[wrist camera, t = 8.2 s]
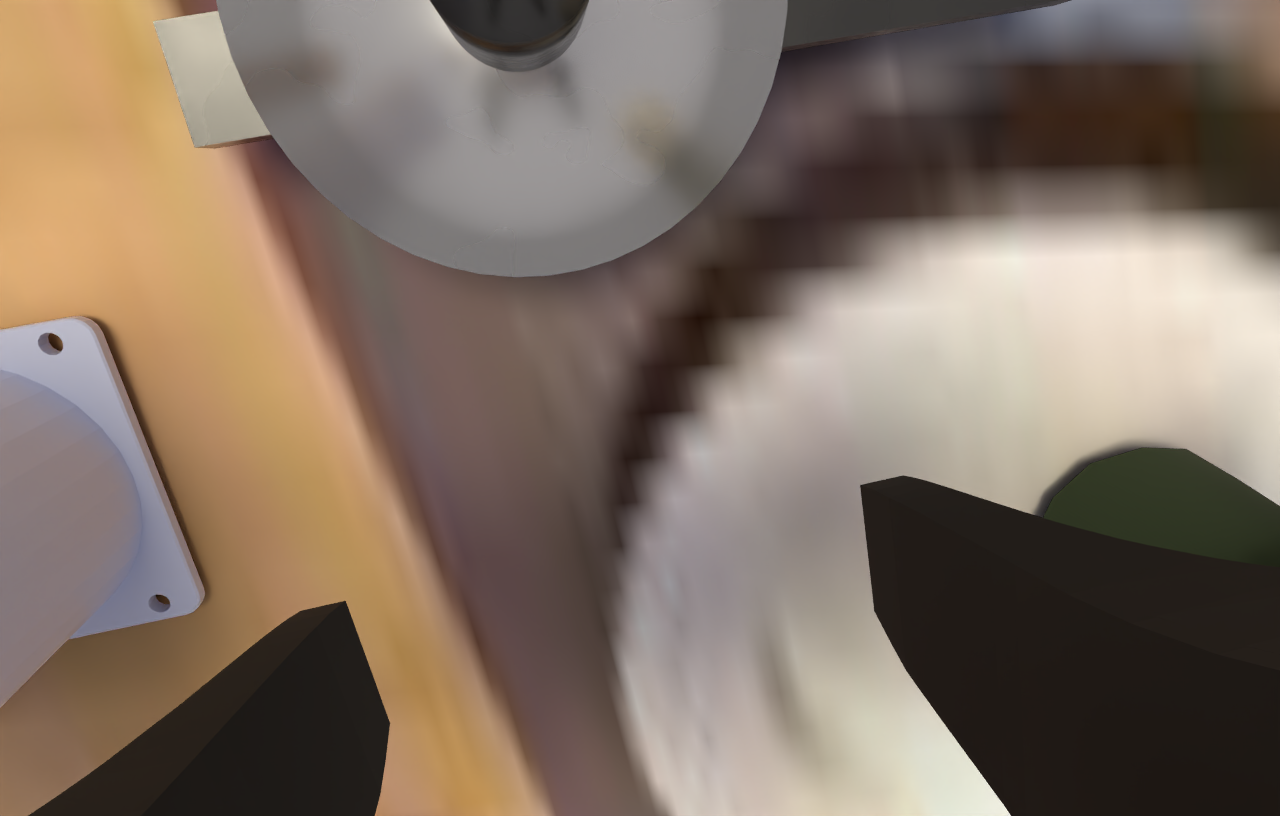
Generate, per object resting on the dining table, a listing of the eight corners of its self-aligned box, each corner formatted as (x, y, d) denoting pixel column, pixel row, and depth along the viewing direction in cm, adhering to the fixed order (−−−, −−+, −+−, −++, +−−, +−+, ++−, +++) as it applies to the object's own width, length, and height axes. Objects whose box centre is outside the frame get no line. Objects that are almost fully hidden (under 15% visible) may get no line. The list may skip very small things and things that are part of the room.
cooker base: (298, 295, 19) (246, 323, 16) (166, -132, 16) (69, -209, 13) (1000, 166, 20) (1091, 166, 17) (992, -253, 17) (1100, -352, 14)
